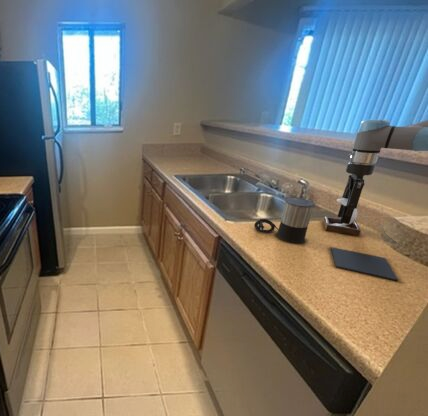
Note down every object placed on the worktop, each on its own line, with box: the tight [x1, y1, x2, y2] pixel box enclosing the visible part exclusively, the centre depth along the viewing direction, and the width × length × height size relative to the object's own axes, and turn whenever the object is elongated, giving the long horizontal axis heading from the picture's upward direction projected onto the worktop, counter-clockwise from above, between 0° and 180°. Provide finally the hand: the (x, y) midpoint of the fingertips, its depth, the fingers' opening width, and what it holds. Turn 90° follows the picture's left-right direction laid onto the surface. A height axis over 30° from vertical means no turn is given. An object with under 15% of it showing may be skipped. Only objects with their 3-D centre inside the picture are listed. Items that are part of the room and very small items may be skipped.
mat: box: [330, 246, 399, 282], centre depth 88 cm, size 14×14×1 cm
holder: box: [323, 216, 361, 237], centre depth 111 cm, size 10×10×2 cm
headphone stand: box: [329, 197, 358, 228], centre depth 109 cm, size 5×6×12 cm
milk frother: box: [253, 197, 316, 244], centre depth 105 cm, size 14×16×15 cm
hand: (343, 219), depth 110 cm, fingers closed on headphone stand, 6 cm apart
